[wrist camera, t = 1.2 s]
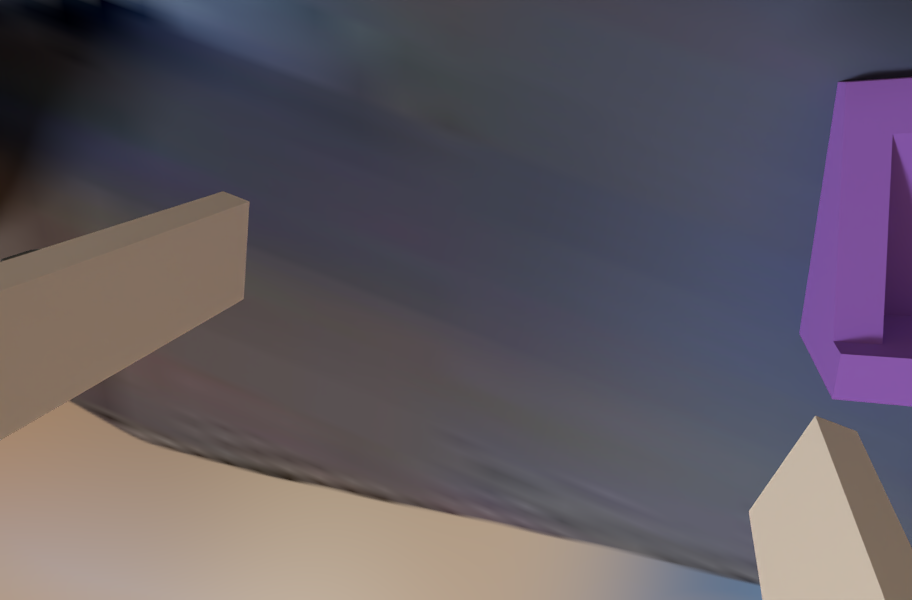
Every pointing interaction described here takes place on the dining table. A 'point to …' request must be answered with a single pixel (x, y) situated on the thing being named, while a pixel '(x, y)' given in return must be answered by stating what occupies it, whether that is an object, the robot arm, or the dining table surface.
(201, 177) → the dining table surface
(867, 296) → the bracket
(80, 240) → the robot arm
